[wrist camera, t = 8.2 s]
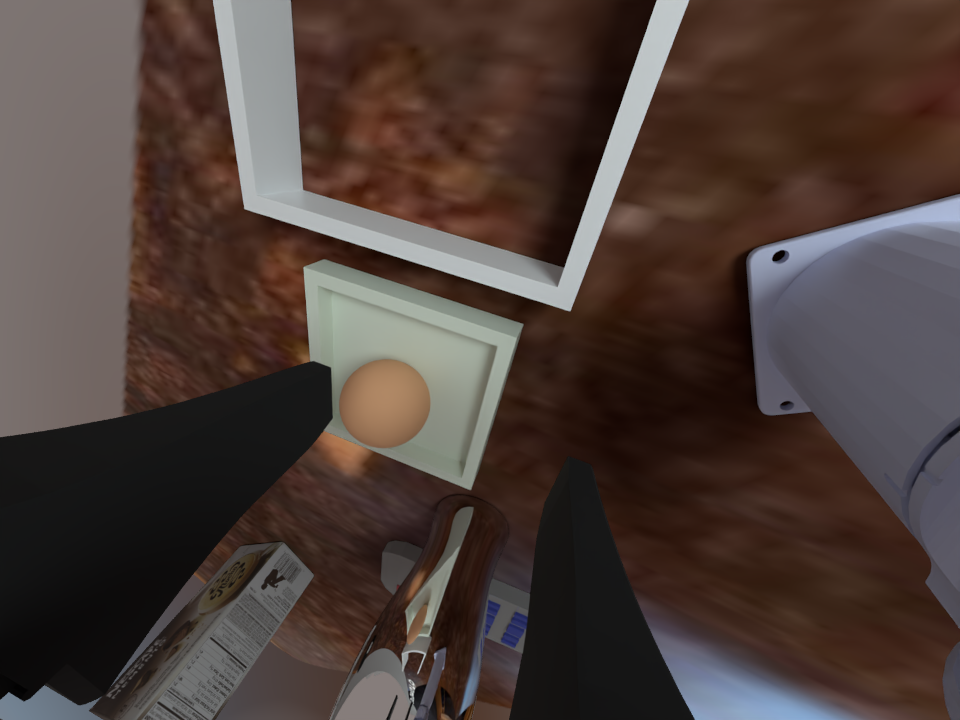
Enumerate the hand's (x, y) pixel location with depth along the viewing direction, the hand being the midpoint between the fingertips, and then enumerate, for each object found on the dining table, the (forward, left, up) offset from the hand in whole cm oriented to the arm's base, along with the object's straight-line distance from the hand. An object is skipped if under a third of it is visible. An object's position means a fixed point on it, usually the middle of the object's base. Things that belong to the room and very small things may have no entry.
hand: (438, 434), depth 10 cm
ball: (+8, +2, -9) cm, 13 cm away
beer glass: (+9, +16, -10) cm, 21 cm away
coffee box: (+39, +23, -10) cm, 46 cm away
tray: (+8, +3, -10) cm, 13 cm away
